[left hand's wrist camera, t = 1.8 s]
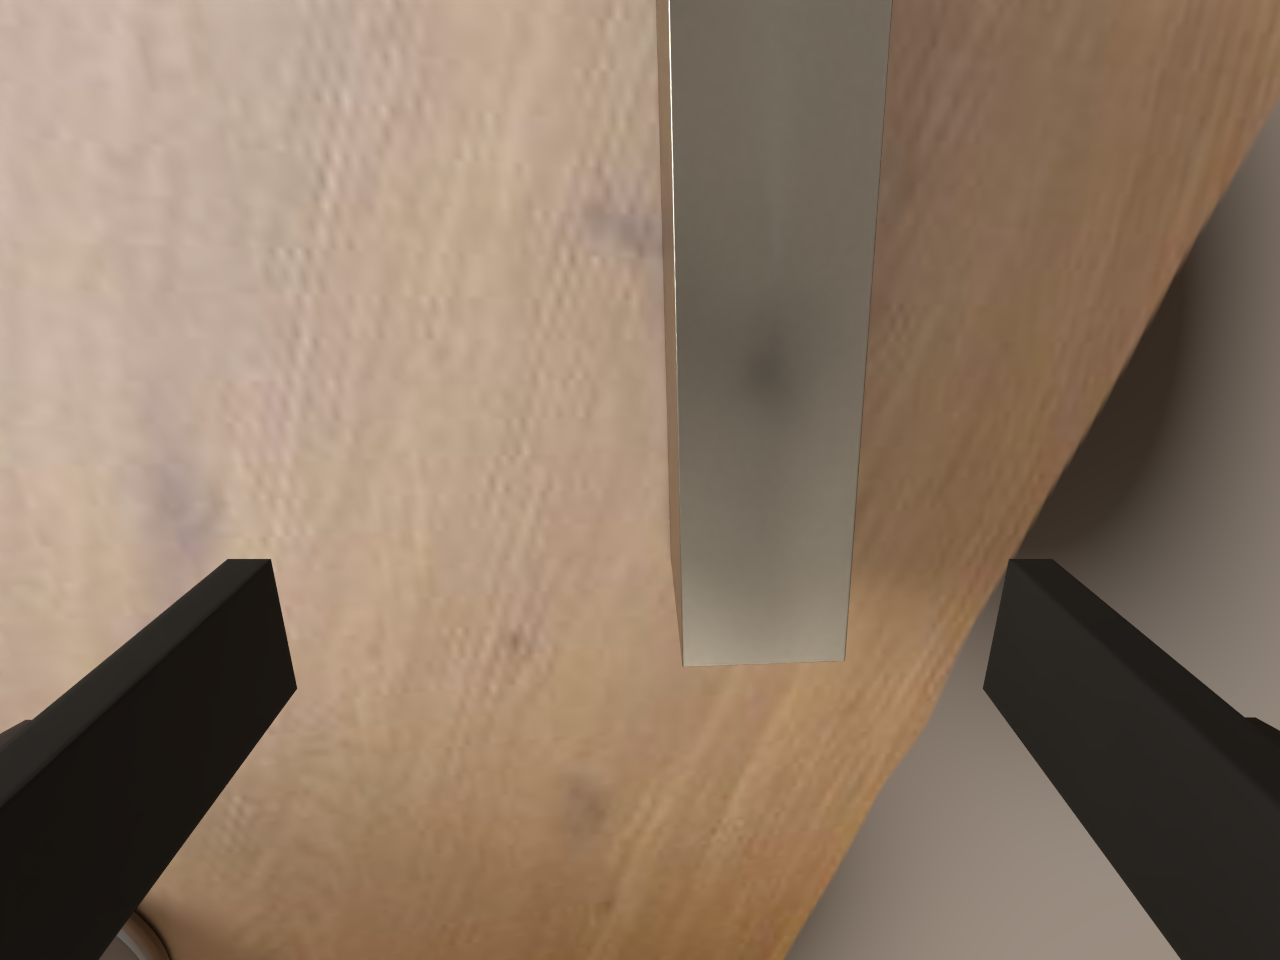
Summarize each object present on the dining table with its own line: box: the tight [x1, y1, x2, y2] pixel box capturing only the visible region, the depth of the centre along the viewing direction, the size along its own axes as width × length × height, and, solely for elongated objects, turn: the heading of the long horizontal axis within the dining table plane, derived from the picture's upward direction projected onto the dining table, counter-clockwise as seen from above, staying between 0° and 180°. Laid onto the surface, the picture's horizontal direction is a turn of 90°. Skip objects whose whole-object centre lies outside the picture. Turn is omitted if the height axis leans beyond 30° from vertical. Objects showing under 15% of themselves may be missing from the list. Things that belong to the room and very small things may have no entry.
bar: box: [656, 0, 892, 667], centre depth 24 cm, size 25×6×8 cm, turn 2°
